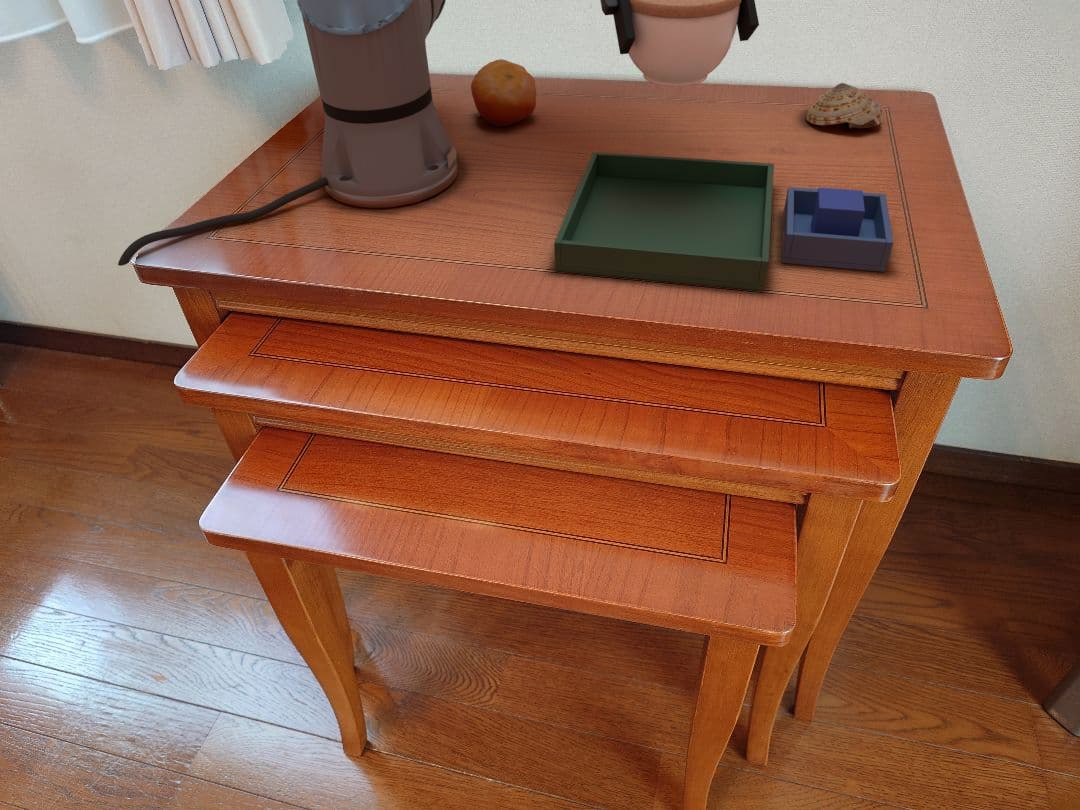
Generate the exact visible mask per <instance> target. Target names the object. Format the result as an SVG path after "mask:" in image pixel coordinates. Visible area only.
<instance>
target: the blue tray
mask: <svg viewBox="0 0 1080 810" xmlns="http://www.w3.org/2000/svg"><path fill="white" fill-rule="evenodd" d="M817 193H818V188H804V187H792V186H791V187H790V186H788V187H787V191H786V197H785V202H784V208H783V213H782V234H781V235H782V236H781V264H789V265H790V264H791V265H801V266H812V267H825V268H826V267H827V268H836V269H847V270H857V271H869V272H881V273H885V272H886V270H887V266H888V263H889V260H890V256H891V253H892V249H893V246H894V238H893V233H892V231H893V230H892V226H891V220H890V213H889V206H888V200H887V195H886V193H875V192H863V199H864V208H865V213H864V217H863V221H862V225H861V228H860V232H859V236H858V237H855V236H843V235H830V234H818V233H811V221H812V217H813V212H814V207H815V202H816V198H817Z"/></svg>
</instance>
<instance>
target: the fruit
mask: <svg viewBox="0 0 1080 810" xmlns="http://www.w3.org/2000/svg"><path fill="white" fill-rule="evenodd" d="M470 90H471V96H472V99H473V103H474V106H475V109H476V111H477V112H478V113H479V114H478V115H477V117H482V118H483V119H484V121H486V122H488V123H489V124H492V125H494V126H495V127H497V128H505V127H508V126H511V125H514V124H517V123H518V122H520V121H523V120H524V119H526V118H528V117H529V116H530V115H531V114H532V113H533V112H534V111H535V110H536V106H537V89H536V80H535V78H534V77H533V76H532V75H531V74H530V73H529V72H528V70H527V69H526V68H525V66H523V65H521V64H518V63H515V62H512V61H508V60H507V59H503V58H500V59H496V60H493V61H489V62H488V63H487V64H485V65H484V66H482V67H481V68H480V69H479V70H478V71H477V73H475V75H474V77H473V79H472V81H471V83H470Z"/></svg>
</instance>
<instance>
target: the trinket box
mask: <svg viewBox="0 0 1080 810" xmlns="http://www.w3.org/2000/svg"><path fill="white" fill-rule="evenodd" d="M740 3H741V0H629V5H630V11H631V17H632V22H633V28H634V33H635V40H634V42H633V44H632V47H631V49H630V51H629V53H628V54H627V55H628V56H629V58H630V60H631V61H632V63H633V64H634V66H635V67H636V68H637V69H638V70H639V71H640V72H641V73H642V74H643V75H642V76H643V78H644V80H646V81H647V82H649V83H651V84H653V85H656V86H662V87H667V88H668V87H670V88H684V87H691V86H695V85H698V84H701V83H703V82H705V81H706V80H707V79H708V76H709V75H710V74H711V73H712V72H713V71H714V70H715V69H716V68H717V67H719V65H721V63H722V62H723V60H724V59H725V57H726V56H727V55H728V53H729V50H730V49H731V46H732V43H733V41H734V38H735V34H736V30H737V21H738V15H739V8H740Z"/></svg>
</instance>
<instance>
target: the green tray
mask: <svg viewBox="0 0 1080 810" xmlns="http://www.w3.org/2000/svg"><path fill="white" fill-rule="evenodd" d="M774 170H775V163H770V162H755V161H754V162H753V161H741V160H740V161H739V160H738V161H737V160H722V159H710V158H709V159H708V158H707V159H706V158H691V157H690V158H689V157H679V156H678V157H676V156H662V155H661V156H660V155H647V154H645V155H644V154H630V153H614V152H597V151H593V152H592V153H591V156H590V158H589V160H588V163H587V165H586V167H585V170H584V172H583V174H582V176H581V179H580V181H579V183H578V186H577V188H576V191H575V192H574V196H573V198H572V200H571V203H570V205H569V207H568V209H567V211H566V214H565V217H564V219H563V221H562V224H561V226H560V228H559V230H558V233H557V236H556V238H555V240H554V242H553V243H554V244H553V246H554V271H555V272H564V273H572V274H574V273H575V274H584V275H593V276H595V275H596V276H605V277H616V278H624V279H625V278H627V279H635V280H648V281H656V282H657V281H658V282H667V283H676V284H688V285H698V286H708V287H709V286H710V287H719V288H731V289H739V290H740V289H741V290H752V291H761V292H763V291H764V290H765V285H766V279H767V274H768V267H769V262H770V261H769V260H770V244H771V228H772V227H771V225H772V223H771V222H772V211H773V210H772V207H773V190H774V189H773V188H774V172H775V171H774Z"/></svg>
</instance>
